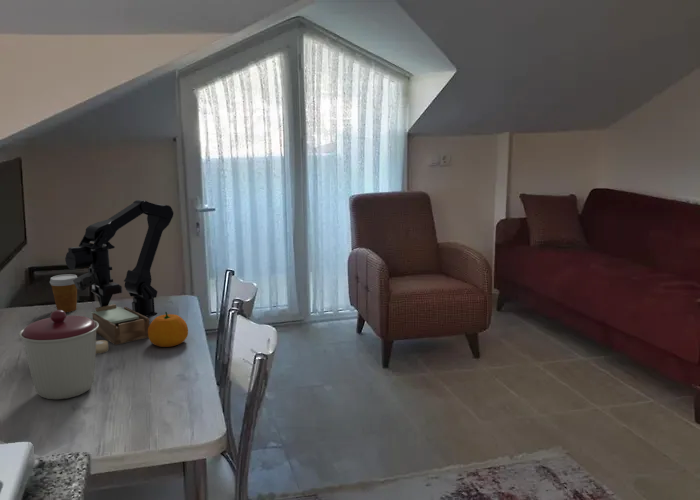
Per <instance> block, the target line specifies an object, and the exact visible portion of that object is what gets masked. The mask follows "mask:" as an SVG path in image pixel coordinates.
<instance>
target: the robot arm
mask: <svg viewBox="0 0 700 500" xmlns="http://www.w3.org/2000/svg"><path fill="white" fill-rule="evenodd" d="M143 214H144V215H146V220H147V231H146V234H145V237H144V240H143V243H142V247H141V249H140V253H139V256H138V260H137V262H136V264H135V267H134V268H133V269H132V270H130V269H128V270H127V272H126V275H125V278H124V279H123V282H124V288H125V290H126V291H127V292H128V294H129V297H132V302H131V310H133V311H135V312H137V313H139V314H141V315H143V316H145V317H149V316H154V315H157V314H158V312H157V311H155V298H157V296H158V290H156V288H154V287H153V285H152V280H153V279H152V275H151V273H152V272H151V270H152V266H153V263H154V260H155V256H156V253H157V249H158V247H159V244H160V241H161V238H162V235H163V232H164V231H165V230H166V229H167V227H168V226H169V225H170V224H171V222H172V220H173V217H174V211H173V208H172V207H171V206H170V205H167V204H162V203H161V204H160V203H152V202H150V201H148V200H145V199H144V200H143V199H136V200H134V201H133V202H132V203H131V204H130V205H128V206H126V207H125V208H124V209H123V208H122V209H121V210H120V211H118V212H116V214H114V215H112V216H111V217H109V218H108V219H104V220H101V221H96V222H95V223H92V224H90V225H88V226H87V227H86V229H85V232H84V235H83V237H82V238H81V241H80V243H79V245H78V246H74V247H68V248H67V249H68V251H67V252H66V254H65V258H64V259H65V264H66V266H67V268H68V269H69V270H71V271H73V270H77V269H82V268H83V269H84V268H87V267H88V268H87V269H88V271H87V272H86V273H83V274H81V275H79V276H77V278H75V279H74V280H73V282H74V284H75V286H76V288H77V290H79V291H80V292H83V291H85V290H86V289H88V288H90V287H91V289H89V291H90V292H92V293H93V294H95V296H96V299H97V301H98V303H99V304H98V305H99V307H102V306H107V305H110V301H111V299H112V297H113V295H117V294H122V293H123V286H122V285H120V284H119V283H118V282H114V278H112V277H111V271H113V267H112V266H111V264H110V252H109V251H110V250H111V249H115V248H116V247H115V246H114V245H113V244H112V243H111V242H110V240H112V239H113V238H114V237H115V235H116V233H117V232H118V231H119V230H120V229H122V227H124V226H126V225H127V224H129V223H130V222H132V221H134V220H135V219H137V218H138V217H140V216H142V215H143Z"/></svg>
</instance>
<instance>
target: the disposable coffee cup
mask: <svg viewBox="0 0 700 500" xmlns="http://www.w3.org/2000/svg"><path fill="white" fill-rule="evenodd" d="M77 277H78V275H76V274H71V273H69V274H66V273H65V274H58V275H54V276H52V277H50V280H49V284H50V286H51V290H52V293H53V298H54V303H55V307H56V310H63V311H64V312H65V313H70V312H75V311H76V310H77V305H78V304H77V301H78V289H77V288H76V286H75V284H74V282H73V280H74V279H75V278H77Z"/></svg>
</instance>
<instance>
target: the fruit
mask: <svg viewBox="0 0 700 500" xmlns="http://www.w3.org/2000/svg"><path fill="white" fill-rule="evenodd" d="M188 334H189V329H188V324H187V323H186V321H185V320H184V318H182V317H181V316H179V315H178V314H172V313H171V314H169V313H167V311H165V313H164V314H160V315H158V316H156V317H155V318H154V319H153V320H152V321H151V322H150V323H149V327H148V339H149V341H150V343H151V344H153V345H155V346H156V347H161V348H172V347H175V346H178V345H181V344H182V343H184V342H185V341H186V339H187V337H188Z"/></svg>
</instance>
